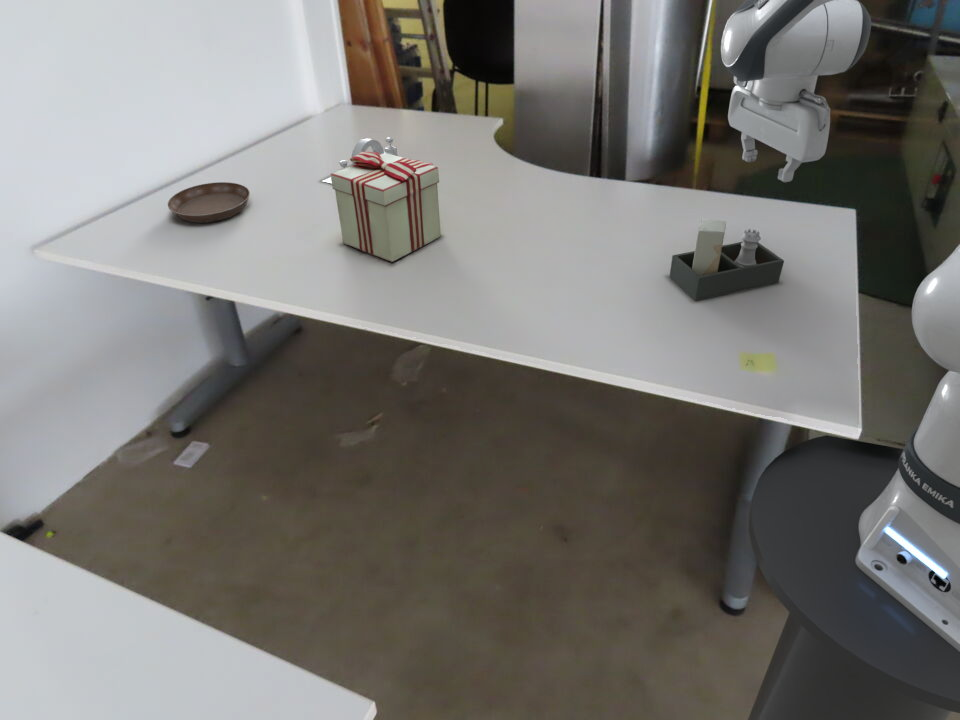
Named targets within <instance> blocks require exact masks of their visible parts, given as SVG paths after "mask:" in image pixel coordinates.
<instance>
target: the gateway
mask: <svg viewBox="0 0 960 720" xmlns="http://www.w3.org/2000/svg"><path fill="white" fill-rule="evenodd" d="M384 141H385V142H386V144H388V146H386V147H385V148H383V146H382V143H381V142H379V141H378V140H376V139H372V138H366V137H365V138H362V139H359V140H358V142H357V143H356V144H355V145H354V147H353V149H352V153H351V158H352V157H354V156H356V155H358V154H359V153H361V152H367V149H368V148H371V150H372V153H375V152H377V151H378V153H379V155H381V154H383V153H388V154H391V155H395V156H398V148H397V147H396V146H392V145H391V144H393V142H394V137H390V136H388V137H386V138H385V139H384ZM348 163H349V161H347V160H345V159H342V160H340V161H339V162H338V164H339V165H340V167H341V168H343V169H345V168H347V167H348ZM352 165H355V164H354V162H353V161H351V166H352ZM322 182H323V183H327V184H331V185H332V181H331V176H329V177H327V178H325V179H323V180H322Z"/></svg>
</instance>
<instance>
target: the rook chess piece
mask: <svg viewBox="0 0 960 720" xmlns="http://www.w3.org/2000/svg"><path fill="white" fill-rule="evenodd" d="M740 238H741V240H742V241H741V242H742V243H741V246H742V247H741V251H740V253H739V256H738V257H737V258H736V260H735V261H734V262H735V263H737V264H738V265H739V266H740V267H746V266H751V265H756V260H755V251H756V248H757V247H758V245H757V242H758V243H759V242H760V241H761V240H762V239H761V236H760V231H758V230H756V229H752V230H751V229H750V228H749V229H747V230H744V231H743V234H741V235H740Z"/></svg>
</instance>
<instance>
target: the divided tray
mask: <svg viewBox="0 0 960 720" xmlns="http://www.w3.org/2000/svg"><path fill="white" fill-rule="evenodd" d="M742 242H743V241H739V242H734V243H733V242H732V243H729V244H723V245H722V250H721V255H720V261H719V266H718V271H717V273H712V274H708V275H703V276H699V275H698V274H697V273H696V272H695V271H694V270H692V266H693V260H694V254H695V250H692V251H688V252H683V253H678V254H672V256H671V262H670V269H669V279H671V280H672V281H673V282H674V283H675V284H676V285H677V286H678V287H679V288H680V289H681V290H682V291H684V293H686V294H687V295H688V296H689V297H690V298H691V299H692V300H693V301H701V300H705V299H711V298H714V297H719V296H724V295H729V294H733V293H738V292H743V291H747V290H752V289H757V288H761V287H766V286H770V285H774V284H775V285H777V284H779V283H780V279H781V275H782V271H783V267H784V262H785V260H784V259H782V258H781V257H780V256H778V255H777V254H776V253H774V252H773V251H771V250H770V249H768V248H767V247H765V246H764V245H762V243H760V242H759V241H758V242H757V245H758V247H757V248H756V251H755V260H756V265H751V266H746V267H740V266H739V265H738V264H737V263H735V262H734V261H735V260H736V258H737V257H738V256H739V253H740V251H741V247H742V246H741V243H742Z"/></svg>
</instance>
